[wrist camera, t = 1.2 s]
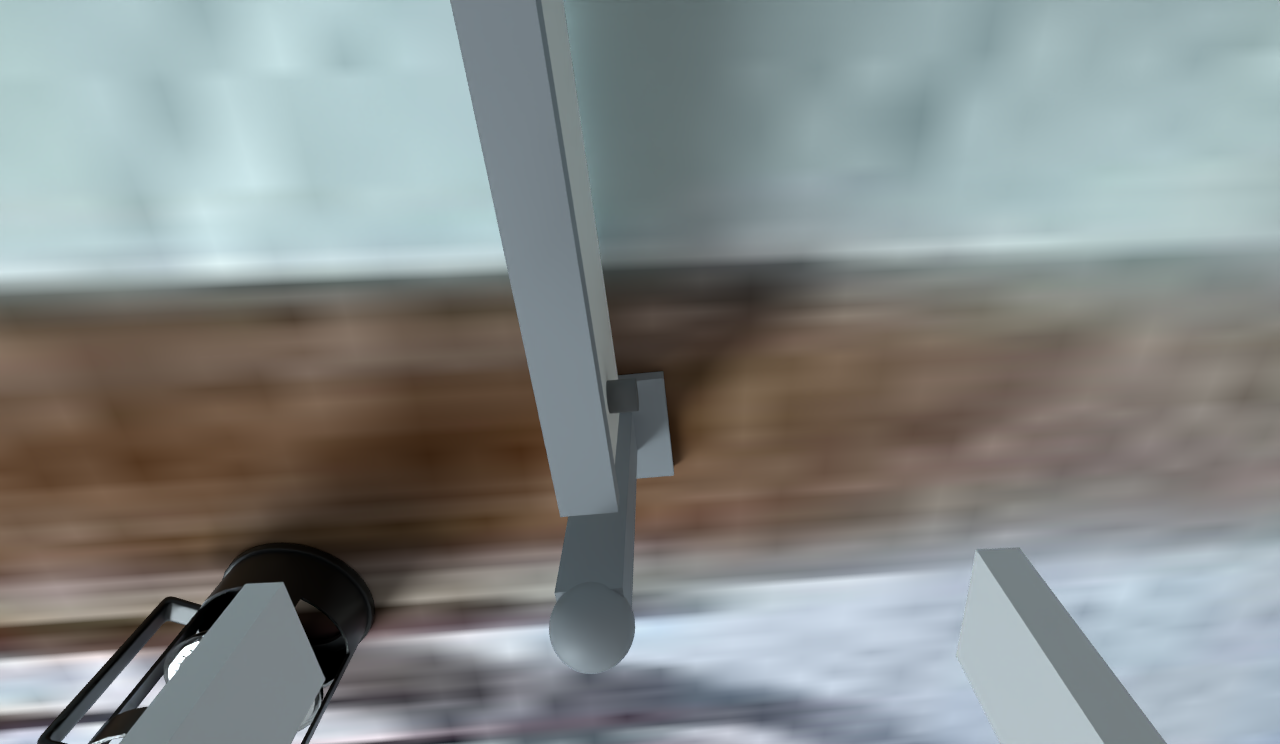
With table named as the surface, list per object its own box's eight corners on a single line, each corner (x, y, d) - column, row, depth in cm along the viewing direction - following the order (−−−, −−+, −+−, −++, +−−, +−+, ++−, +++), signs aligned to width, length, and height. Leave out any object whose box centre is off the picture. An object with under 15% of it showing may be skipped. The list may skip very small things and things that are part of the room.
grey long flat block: (480, -189, 22) (378, -334, 14) (569, -203, 22) (520, -358, 13) (583, 400, 32) (560, 516, 24) (644, 395, 32) (642, 510, 24)
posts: (403, -349, 21) (-34, -1063, 8) (581, -380, 21) (450, -1190, 7) (567, 475, 36) (517, 726, 22) (673, 466, 35) (686, 717, 22)
